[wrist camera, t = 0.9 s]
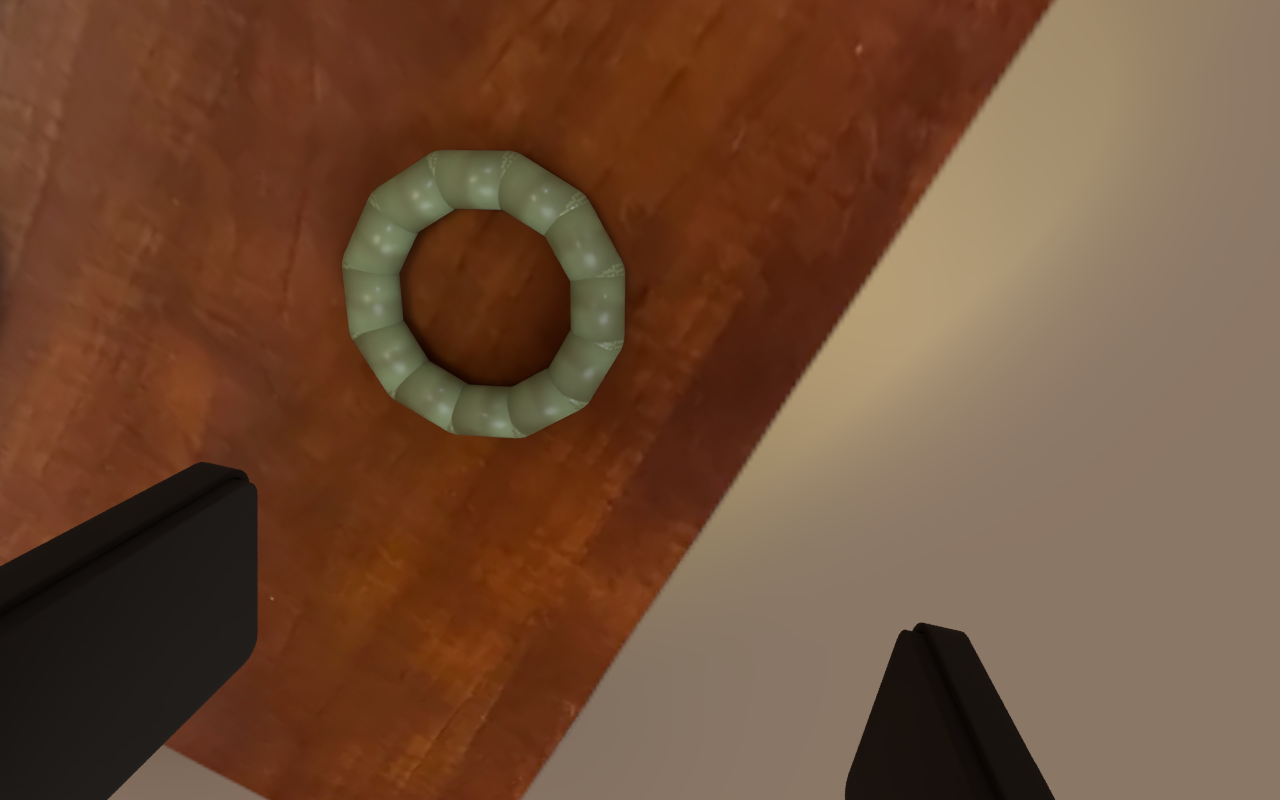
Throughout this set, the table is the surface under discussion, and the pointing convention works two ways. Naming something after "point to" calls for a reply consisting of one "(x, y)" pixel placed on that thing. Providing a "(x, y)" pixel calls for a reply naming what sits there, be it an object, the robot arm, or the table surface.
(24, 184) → the table surface
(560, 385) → the ring
